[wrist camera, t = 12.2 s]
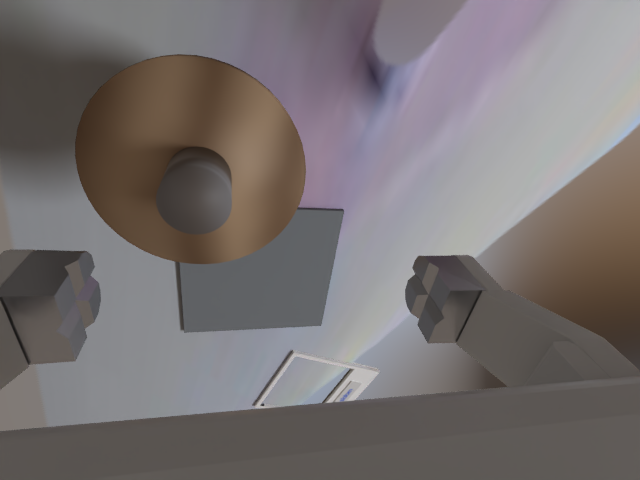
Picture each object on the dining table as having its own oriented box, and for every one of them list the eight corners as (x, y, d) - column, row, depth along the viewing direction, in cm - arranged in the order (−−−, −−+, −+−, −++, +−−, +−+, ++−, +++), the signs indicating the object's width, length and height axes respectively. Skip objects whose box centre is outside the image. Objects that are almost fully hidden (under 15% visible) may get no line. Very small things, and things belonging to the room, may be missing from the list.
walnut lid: (314, 69, 22) (334, 82, 18) (293, 255, 29) (304, 295, 25) (55, 38, 19) (4, 44, 14) (103, 257, 26) (79, 304, 22)
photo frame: (338, 420, 70) (254, 408, 62) (336, 414, 71) (254, 402, 63) (379, 373, 65) (293, 353, 57) (377, 368, 65) (293, 348, 58)
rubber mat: (343, 209, 45) (344, 211, 45) (320, 323, 55) (321, 325, 55) (175, 203, 40) (175, 205, 40) (184, 329, 50) (184, 332, 50)
